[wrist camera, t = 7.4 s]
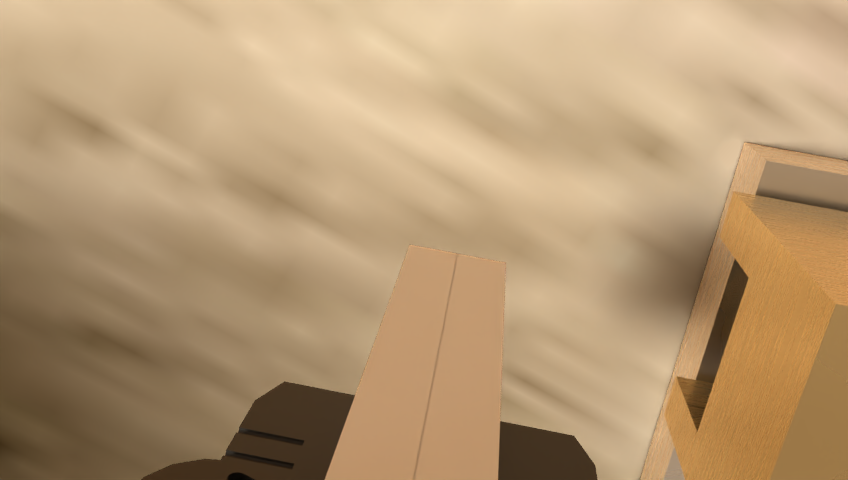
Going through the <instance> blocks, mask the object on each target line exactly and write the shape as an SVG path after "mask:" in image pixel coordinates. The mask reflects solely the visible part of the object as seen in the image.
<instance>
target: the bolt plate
mask: <svg viewBox="0 0 848 480" xmlns="http://www.w3.org/2000/svg"><path fill="white" fill-rule="evenodd" d="M734 191H736V192H741V193H747V194H752V195H757V196H763V197H768V198H774V199H779V200H784V201H790V202H795V203H801V204H806V205H811V206H817V207H822V208H828V209H833V210H839V211H844V212H848V161H845V160H840V159H834V158H829V157H823V156H818V155H812V154H807V153H801V152H796V151H790V150H785V149H779V148H774V147H768V146H763V145H757V144H752V143H746V142H744V145H743V148H742V152H741V155H740V158H739V161H738V164H737V168H736V171H735V174H734V177H733V181H732V184H731V187H730V190H729V194H728V197H727V200H726V203H725V206H724V210H723V213H722V216H721V219H720V223H719V226H718V229H717V232H716V235H715V239H714V242H713V245H712V248H711V252H710V255H709V258H708V261H707V264H706V268H705V271H704V274H703V277H702V281H701V284H700V287H699V290H698V293H697V297H696V300H695V303H694V306H693V310H692V313H691V316H690V319H689V322H688V326H687V329H686V332H685V335H684V339H683V342H682V345H681V348H680V351H679V355H678V358H677V361H676V364H675V368H674V371H673V374H672V377H671V381H670V384H669V387H668V390H667V393H666V397H665V400H664V403H663V406H662V410H661V413H660V416H659V419H658V422H657V426H656V429H655V432H654V435H653V439H652V442H651V445H650V448H649V451H648V455H647V458H646V461H645V464H644V468H643V471H642V474H641V477H640V480H685V478H684V475H683V471H682V468H681V465H680V462H679V459H678V456H677V453H676V450H675V447H674V444H673V441H672V438H671V435H670V431H669V428H668V425H667V422H666V419H665V416H664V413H665V409H666V406H667V403H668V400H669V397H670V393H671V390H672V387H673V384H674V381H675V377H676V376H678V377H683V378H688V379H694V380H699V381H704V382H709V383H714V381H715V378H716V375H717V372H718V369H719V366H720V363H721V359H722V356H723V353H724V350H725V347H726V344H727V341H728V338H729V335H730V332H731V329H732V326H733V323H734V320H735V317H736V314H737V311H738V308H739V305H740V302H741V299H742V296H743V293H744V290H745V287H746V284H747V281H748V278H749V277H748V276H747V275H746V273H745V272H744V270H743V269H742V268H741V266H740V265H739V263H738V262H737V261H736V259H735V258H734V256H733V255H732V254H731V252H730V251H729V249H728V248H727V247H726V245H725V244H724V242H723V241H722V240H721V238H720V237H719V236H720V233H721V230H722V227H723V224H724V220H725V217H726V214H727V211H728V208H729V204H730V201H731V198H732V195H733V192H734Z"/></svg>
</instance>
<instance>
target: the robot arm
mask: <svg viewBox="0 0 848 480" xmlns="http://www.w3.org/2000/svg"><path fill="white" fill-rule="evenodd" d="M505 274H506V263H505V262H500V261H494V260H489V259H484V258H479V257H473V256H468V255H463V254H457V253H452V252H447V251H441V250H436V249H431V248H426V247H420V246H415V245H409V248H408V250H407V253H406V256H405V259H404V262H403V264H402V267H401V270H400V273H399V275H398V278H397V281H396V284H395V286H394V289H393V292H392V295H391V298H390V300H389V303H388V306H387V309H386V311H385V314H384V317H383V320H382V322H381V325H380V328H379V331H378V333H377V336H376V339H375V342H374V345H373V347H372V350H371V353H370V356H369V358H368V361H367V364H366V367H365V369H364V372H363V375H362V378H361V381H360V383H359V386H358V389H357V392H356V394H355V396H354V395H349V394H344V393H339V392H334V391H329V390H324V389H319V388H314V387H309V386H304V385H299V384H294V383H289V382H283V383H282V384H280V385H279V386H277V387H275V388H274V389H272V390H271V391H269V392H268V393H266V394H265V395H263V396H261V397H260V398H258V399H257V400H255V401H254V403H253V405H252V407H251V408H250V410H249V412H248V414H247V415H246V417H245V419H244V420H243V422H242V424H241V426H240V427H239V432H238V433H236V434H235V436H234V438H233V439H232V441H231V443H230V445H229V446H228V448H227V450H226V454H225V456H223V457H222V459H221V460H212V459H202V460H196V461H190V462H184V463H178V464H172V465H170V466H168V467H166V468H163V469H161V470H159V471H157V472H154V473H152V474H150V475H148V476H146V477H144V478H142V479H141V480H597V475H596V468H595V465H594V463H593V462H592V460H591V459H590V458H589V456H588V455H587V453H586V452H585V451H584V449H583V448H582V446H581V445H580V444H579V442H578V441H577V440H576V438H575V437H574V436H572V435H567V434H562V433H557V432H552V431H547V430H542V429H537V428H532V427H527V426H522V425H516V424H511V423H506V422H501V421H500V411H501V383H502V356H503V329H504V301H505Z"/></svg>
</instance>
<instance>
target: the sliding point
mask: <svg viewBox="0 0 848 480" xmlns="http://www.w3.org/2000/svg"><path fill="white" fill-rule="evenodd" d="M719 237H720V238H721V240H722V241H723V242H724V244H725V245H726V247H727V248H728V249H729V251H730V252H731V254H732V255H733V256H734V258H735V259H736V261H737V262H738V263H739V265H740V266H741V268H742V269H743V270H744V272H745V273H746V275H747V276H748V277H749V278H748V281H747V284H746V287H745V290H744V293H743V296H742V299H741V302H740V305H739V308H738V311H737V314H736V317H735V320H734V323H733V326H732V329H731V332H730V335H729V338H728V341H727V344H726V347H725V350H724V353H723V356H722V359H721V363H720V366H719V369H718V372H717V375H716V378H715V381H714V383H709V382H704V381H699V380H694V379H688V378H683V377H678V376H676V377H675V381H674V384H673V387H672V390H671V393H670V397H669V400H668V403H667V406H666V409H665V413H664V416H665V419H666V422H667V425H668V428H669V431H670V435H671V438H672V441H673V444H674V447H675V450H676V453H677V456H678V459H679V462H680V465H681V468H682V471H683V475H684V478H685V480H848V212H844V211H839V210H833V209H828V208H822V207H817V206H811V205H806V204H801V203H795V202H790V201H784V200H779V199H774V198H768V197H763V196H757V195H752V194H747V193H741V192H736V191H734V192H733V195H732V198H731V201H730V204H729V208H728V211H727V214H726V217H725V220H724V224H723V227H722V230H721V233H720V236H719Z"/></svg>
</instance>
